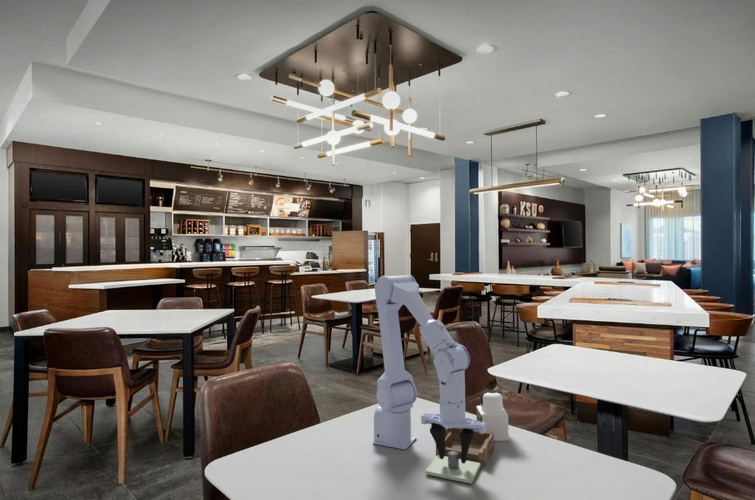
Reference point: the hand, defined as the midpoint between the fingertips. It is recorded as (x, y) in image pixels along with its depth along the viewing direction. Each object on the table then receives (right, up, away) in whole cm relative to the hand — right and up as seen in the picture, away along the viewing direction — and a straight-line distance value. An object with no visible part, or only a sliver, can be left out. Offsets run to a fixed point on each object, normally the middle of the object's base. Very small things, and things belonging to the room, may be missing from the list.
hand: (453, 459), depth 101 cm
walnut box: (+5, -3, +9) cm, 11 cm away
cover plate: (0, -2, 0) cm, 2 cm away
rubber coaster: (0, -3, 0) cm, 3 cm away
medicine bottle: (+14, -3, +19) cm, 24 cm away
